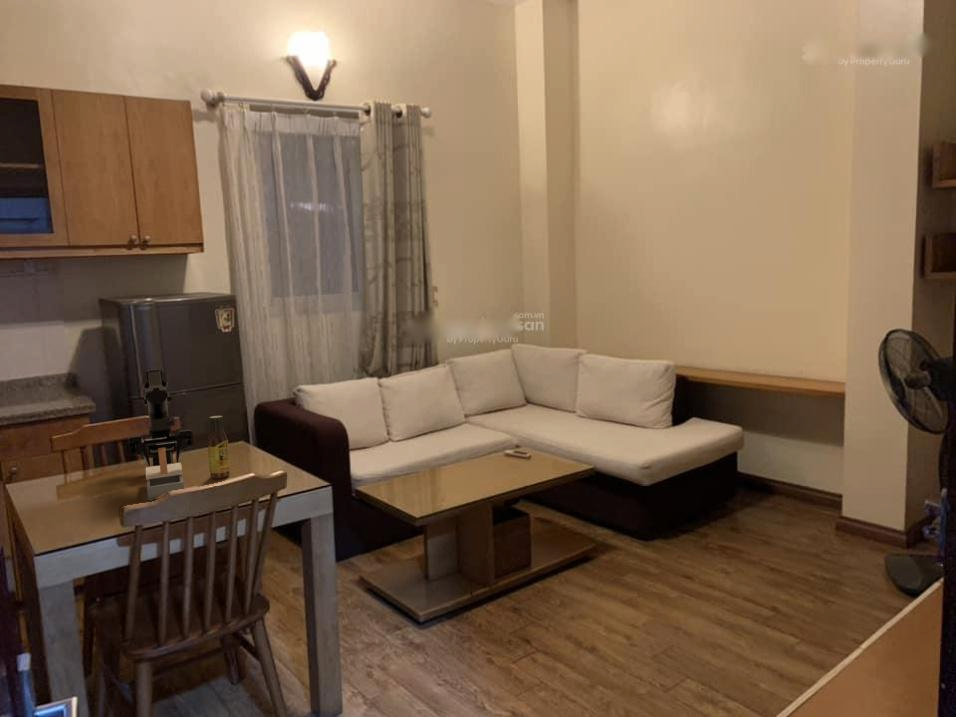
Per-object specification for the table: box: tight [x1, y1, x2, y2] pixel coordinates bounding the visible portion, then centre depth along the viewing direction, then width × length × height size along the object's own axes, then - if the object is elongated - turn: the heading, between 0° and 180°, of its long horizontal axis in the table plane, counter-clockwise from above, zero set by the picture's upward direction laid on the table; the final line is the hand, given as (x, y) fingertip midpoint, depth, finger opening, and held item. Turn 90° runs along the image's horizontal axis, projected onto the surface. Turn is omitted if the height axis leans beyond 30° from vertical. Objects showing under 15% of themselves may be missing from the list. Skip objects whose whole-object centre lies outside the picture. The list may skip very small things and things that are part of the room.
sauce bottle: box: [207, 415, 231, 479], centre depth 233 cm, size 6×6×20 cm
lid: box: [145, 447, 184, 481], centre depth 226 cm, size 12×10×8 cm
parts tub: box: [146, 474, 185, 501], centre depth 219 cm, size 12×10×4 cm
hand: (163, 464), depth 221 cm, fingers open, 8 cm apart
